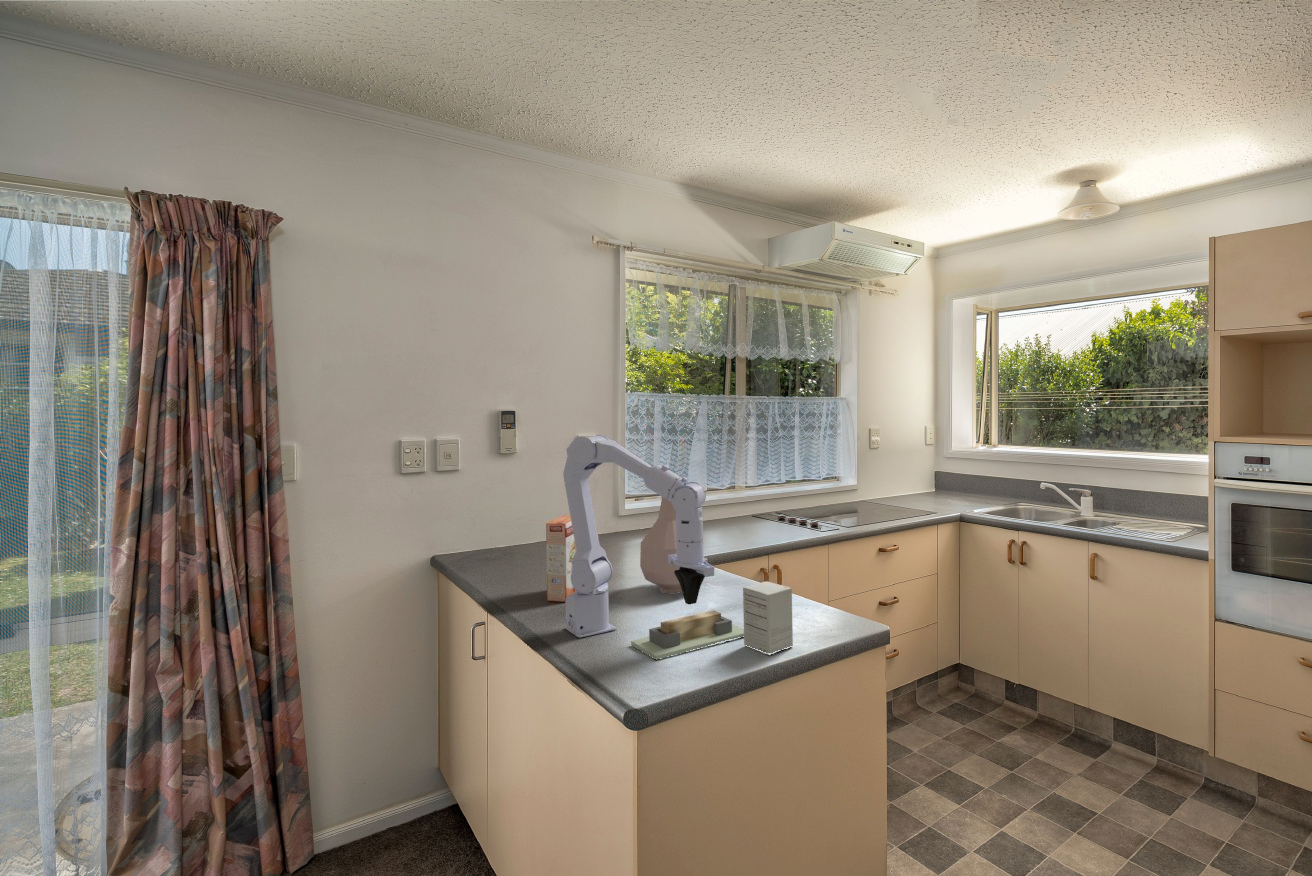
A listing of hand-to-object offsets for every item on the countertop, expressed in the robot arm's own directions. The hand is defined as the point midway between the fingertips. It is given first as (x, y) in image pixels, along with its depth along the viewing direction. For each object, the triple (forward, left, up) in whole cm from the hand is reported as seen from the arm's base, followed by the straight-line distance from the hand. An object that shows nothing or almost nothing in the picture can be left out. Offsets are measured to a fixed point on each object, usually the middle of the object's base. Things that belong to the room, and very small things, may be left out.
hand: (690, 603), depth 135 cm
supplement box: (+11, -12, -8) cm, 18 cm away
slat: (0, 0, -7) cm, 7 cm away
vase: (+18, +35, -8) cm, 40 cm away
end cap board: (0, 0, -8) cm, 8 cm away
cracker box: (-8, +48, -8) cm, 49 cm away
